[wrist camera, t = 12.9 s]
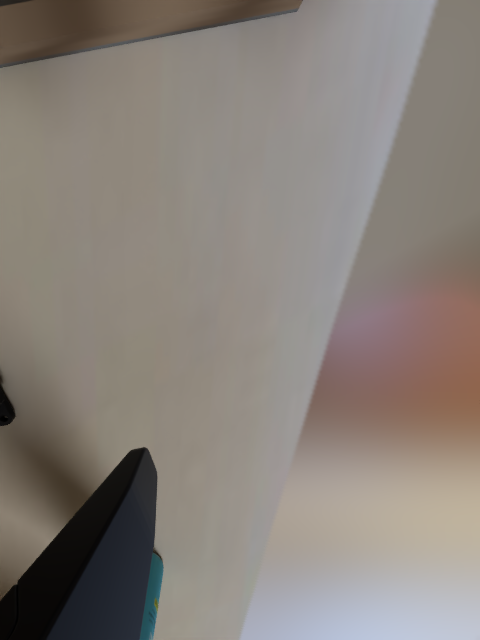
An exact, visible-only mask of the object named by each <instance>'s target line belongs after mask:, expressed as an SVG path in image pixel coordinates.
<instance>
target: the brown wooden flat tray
mask: <svg viewBox="0 0 480 640" xmlns="http://www.w3.org/2000/svg"><path fill="white" fill-rule="evenodd" d="M302 1H303V0H0V68H1V67H6V66H11V65H17V64H22V63H27V62H33V61H38V60H43V59H48V58H54V57H59V56H64V55H70V54H75V53H80V52H85V51H91V50H96V49H101V48H107V47H112V46H117V45H122V44H128V43H133V42H138V41H143V40H149V39H154V38H159V37H165V36H170V35H175V34H180V33H186V32H191V31H196V30H202V29H207V28H212V27H217V26H223V25H228V24H233V23H238V22H244V21H249V20H254V19H260V18H265V17H270V16H275V15H281V14H286V13H291V12H297V11H298V9H299V7H300V5H301V3H302Z"/></svg>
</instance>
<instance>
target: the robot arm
mask: <svg viewBox="0 0 480 640" xmlns="http://www.w3.org/2000/svg"><path fill="white" fill-rule="evenodd" d="M3 415H4V416H6V417H7V418H6V417H4V416H3ZM14 418H15V413H14V411H13V409H12V407H11V405H10V404H9V402H8V400H7V398H6V396H5V395H4V393H3V391H2V389H1V388H0V426H4V425H8V424H10V423H11V422H12V421H13V420H14ZM156 498H157V471H156V468H155V465H154V463H153V460H152V458H151V455H150V452H149V450H148V449H147V448H145V447H143V448H138V449H133V450H131V451H130V452H129V453H128V454H127V455H126V456H125V457H124V458H123V459H122V461H121V462H120V463H119V464H118V465H117V466H116V468H115V469H114V470H113V471H112V472H111V473H110V475H109V476H108V477H107V478H106V479H105V480H104V482H103V483H102V484H101V485H100V486H99V487H98V488H97V490H96V491H95V492H94V493H93V494H92V495H91V497H90V498H89V499H88V500H87V501H86V502H85V504H84V505H83V506H82V507H81V508H80V509H79V510H78V512H77V513H76V514H75V515H74V516H73V517H72V519H71V520H70V521H69V522H68V523H67V524H66V526H65V527H64V528H63V529H62V530H61V531H60V533H59V534H58V535H57V536H56V537H55V538H54V539H53V541H52V542H51V543H50V544H49V545H48V546H47V548H46V549H45V550H44V551H43V552H42V553H41V555H40V556H39V557H38V558H37V559H36V560H35V561H34V563H33V564H32V565H31V566H30V567H29V568H28V570H27V571H26V572H25V573H24V574H23V575H22V577H21V578H20V579H19V580H18V583H17V584H16V585H14V586H13V587H12V588H11V589H10V590H9V591H8V593H7V594H6V595H5V596H4V597H3V598H2V600H1V601H0V640H140V634H141V628H142V621H143V614H144V608H145V601H146V594H147V588H148V581H149V574H150V568H151V561H152V554H153V547H154V538H155V520H156Z"/></svg>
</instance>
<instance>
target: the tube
mask: <svg viewBox="0 0 480 640" xmlns="http://www.w3.org/2000/svg"><path fill="white" fill-rule="evenodd" d="M162 576H163V562H162V560H161V558H160V557H159V556H158V555H157V554H155V553H154V552H153V554H152V561H151V568H150V574H149V581H148V588H147V594H146V601H145V608H144V614H143V621H142V628H141V634H140V640H153V635H154V629H155V623H156V616H157V610H158V603H159V597H160V590H161V584H162Z"/></svg>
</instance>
